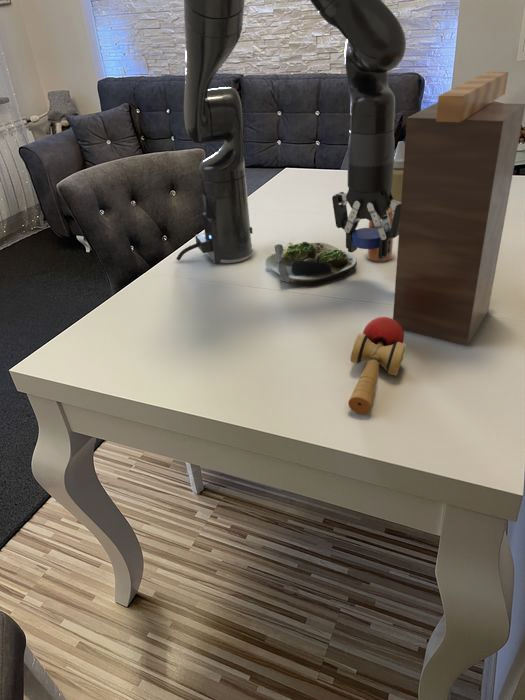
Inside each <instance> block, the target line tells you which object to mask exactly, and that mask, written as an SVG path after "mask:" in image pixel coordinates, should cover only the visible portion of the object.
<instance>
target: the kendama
mask: <svg viewBox="0 0 525 700" xmlns="http://www.w3.org/2000/svg"><path fill="white" fill-rule="evenodd" d="M404 340H405V334H404V330H402V328H401V326H400V325H399V323H398V322H396V321H395V320H393V318H391V317H388V316H380V317H376V318H374V319H372V320H370V321H369V322H368V323H367V324H366V325H365V327H364V329H363V332H362V333H358V334H357V336H356V338H355V340H354V343H353V345H352V346H353V347H352V351H351V354H350V362H351V363H353V364H356V365H358V364H360V363H362V362H367V363H366V365H365V366H364V368H363V370H362V372H361V374H360V376H359V378H358V381H357V383H356V385H355V387H354V389H353V391H352V393H351V395H350V397H349V399H348V403H347V404H348V407H349V408H350V410H351V411H352V412H354V413H356V414H361V415H364V414H368V413H369V412H370V411H371V409H372V405H373V399H374V394H375V391H376V385H377V381H378V378H379V377H378V376H379V368H380V366H382V367H383V368H384V370H385V371H386V373H387V374H388V375H391V376H395V377H397V376H398V373H399V370H400V367H401V364H402V360H403V357H404V354H405V352H406V351H405V350H406V345H407V344H406V343H405V342H404Z"/></svg>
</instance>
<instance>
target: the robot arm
mask: <svg viewBox="0 0 525 700" xmlns="http://www.w3.org/2000/svg"><path fill="white" fill-rule="evenodd" d="M309 1H310V3H311V4H312V5H313V7H314V8H315V10H316V11H317V12H318V14H319V15H320V16H321V17H322V18H323V19H324V21H326V23H328V24H329V25H330V26H333V27H335V28H336V29H337V30H338V31H339V32H340V33H341V34H342V35H343V37H344V38H345V39H346V41H345V47H344V65H345V66H344V67H345V74H346V81H347V89H348V93H349V99H350V107H349V136H348V142H347V188H348V190H347V192H344V191H340V192H337V193H336V194H334V195H333V196H332V197H331V200H332V207H333V214H334V221H335V227H336V228H338V229H342V230H344V232H345V247H346V249H347V253H350V254H353V253H354V252H356V251H357V249H358V248H357V247H355V246H353V245H352V233H353V231H355V230H357V229H358V226H359V223H360V221H361V220H367V221H369V220H370V221H373V223H374V226H375V228H377V230H378V232H379V235H380V238H381V239H379V254H378V258H380V259H384V258H385V257H386V256H387V255H388V254H389V253H390V250H391V249H390V248H391V238H393V239H395V238H396V237H399V225H400V211H401V202H399V201H396V200H393V196H392V193H391V189H392V183H393V165H394V157H395V147H396V145H395V144H396V143H395V142H396V141H395V117H396V96H395V94H394V92H393V91H392V89H391V88H390V87H389V82H388V72H390V71H392V70H394V69H395V68H397V66H399V64H400V63H401V62H402V60H403V58H404V56H405V52H406V48H407V39H406V34H405V31H404V28H403V26H402V25H401V22H400V21H399V19H398V18H397V16H396V15H395V14H394V12H392V10H391V9H390V8H389V7H388V6H387V5H386V3H384V2H383V0H309ZM183 12H184V13H183V19H184V37H185V78H184V94H183V122H184V128H185V132H186V134H187V137H188V138H189V139H190V141H191V142H193V143H195V144H210V143H216V142H223V144H222V146H221V147H220V148H219V150H218V151H216V152H215V153H214V154H212V155H210V156H209V157H207V158H205V159H204V160H202V161H201V162H200V163H199V166H198V172H199V180H200V186H201V195H202V202H203V203H202V204H203V211H204V212H202V215H201V216H202V222H203V230H204V232H203V233H199V234H195V235H194V236H195V237H194V238H195V243H194V244H192V245H189V246H187V247H186V248H184V249H182V250H181V251H180V252H179V253H178V255H177V256H176V258H175V259H176V261H180V260H181V259H182V257H183V256H184V255H185V254H186V253H188V252H189V251H192V250H194V249H197V248H198V249H199V250H200V252H202V254H207V256H208V257H209V258H210V260H211V261H212V262H213V263H214V264H215V265H219V264H236V263H241V262H244V261H246V260H249V259H250V258H251V257H253V254H254V250H253V245H252V235H253V227H251V221H250V212H249V211H250V210H249V201H248V187H247V178H246V177H247V176H246V163H245V162H246V159H245V144H244V117H243V115H244V114H243V106H242V101H241V97H240V95H239V93H238V91H237V90H236V89H235V88H234V87H229V86H228V87H226V86H225V87H218V88H210V86H211V83H212V81H213V79H214V77H215V76H216V74H217V73H218V72H219V70H220V68H222V66H223V64H225V62H226V61H227V59H228V58H229V57H230V55H231V53H232V52H233V51H234V49H235V47H236V46H237V44H238V42H239V41H240V38H241V35H242V31H243V25H244V15H245V14H244V12H245V0H183ZM209 88H210V89H209ZM347 204H348V205H349V207H350V208H351V210H350V212H349V214H348V208H347V206H348V205H347ZM390 207H391V208H392V214H394V217H393V221H392V225H390V217H389V214H388V211H387V210H388V209H389V208H390ZM380 218H382V219H380Z"/></svg>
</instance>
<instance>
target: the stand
mask: <svg viewBox="0 0 525 700" xmlns="http://www.w3.org/2000/svg"><path fill="white" fill-rule="evenodd" d="M437 107H438V101H437V102H435V103H433V104H431V105H429V106H427V107H425V108H423V109H422V110H419V111H418V112H417V111H416V113H413V114H411V115H409V116H407V117H406V126H405V140H404V141H405V142H404V146H405V154H404V168H403V183H402V197H401V211H400V225H399V235H398V241H397V255H396V269H395V283H394V284H395V285H394V299H393V313H392V319H393V320H395V321H396V322H398V323H399V325H400V326H401V328H402V330H403V332H409V333H413V334H418V335H422V336H424V337H425V336H426V337H429V338H434V339H438V340H442V341H446V342H449V343H454V344H458V345H463V346H466V347H467V346H468V345H469V343H470V342H471V340H472V338H473V337H474V336H475V333H476V332H477V330H478V329H479V327H480V326H481V324H482V323H483V321H484V319H485V318H486V316H487V314H488V312H489V310H490V305H491V299H492V292H493V288H494V287H493V286H494V281H495V277H496V272H497V271H496V270H497V264H498V260H499V253H500V248H501V242H502V236H503V231H504V226H505V219H506V215H507V210H508V209H507V208H508V203H509V198H510V194H511V193H510V192H511V187H512V181H513V176H514V169H515V164H516V158H517V152H518V149H519V143H520V142H519V141H520V136H521V131H522V125H523V119H524V114H525V103H502V102H501V103H500V102H497V103H496V102H491V103H490V104H488V105H487V106H485V107H483V108H482V109H480V110H479V111H477V112H476V113H474V114H473V115H471V116H469V117H468V118H466V119H465V120H463V121H462V122H460V123H458V122H436V117H437Z"/></svg>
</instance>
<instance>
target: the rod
mask: <svg viewBox="0 0 525 700" xmlns="http://www.w3.org/2000/svg"><path fill="white" fill-rule="evenodd" d="M508 77H509V71H486V72H484V73H482V74H480V75H478V76H476V77H474V78H472V79H470V80H468V81H466V82H464V83H462V84H460V85H457V86H455V87H453V88H451V89H449V90H447V91H445V92H443V93H441V94H439V95H438V99H437V102H438V107H437V117H436V122H458V123H460V122H462V121H463V120H465V119H466V118H468V117H469V116H471V115H473V114H474V113H476V112H477V111H479V110H480V109H482V108H483V107H485V106H487V105H488V104H490V103H494V101H496V100H497V99H499V98H501V97H503V96H504V95H505V94H506V89H507V83H508Z"/></svg>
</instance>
